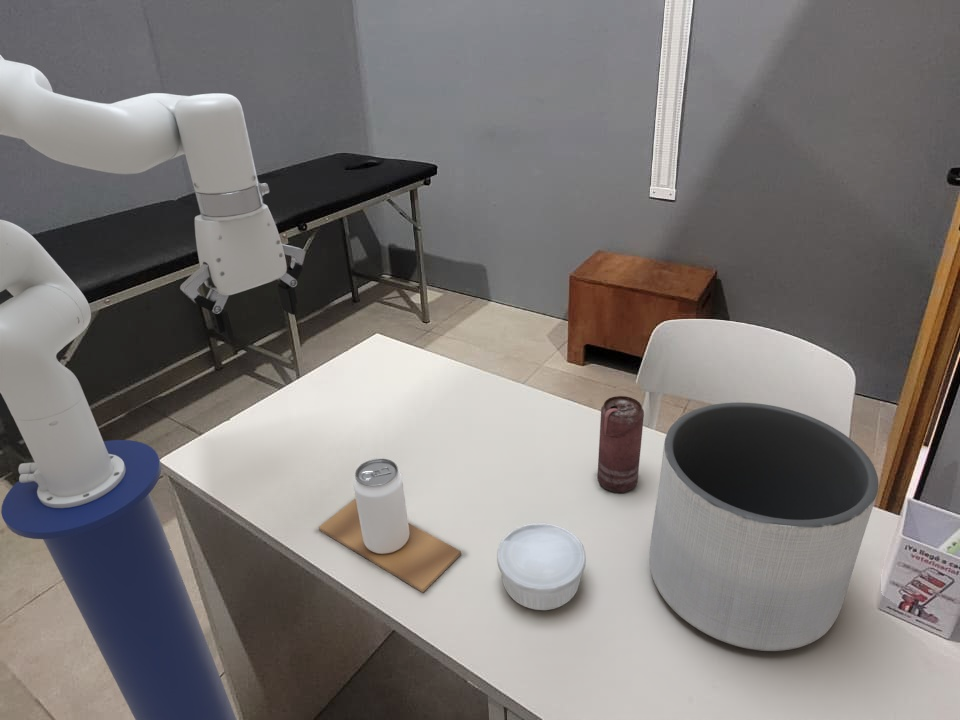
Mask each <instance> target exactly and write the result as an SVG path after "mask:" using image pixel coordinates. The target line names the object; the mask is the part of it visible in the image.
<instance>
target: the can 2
mask: <svg viewBox="0 0 960 720" xmlns="http://www.w3.org/2000/svg"><path fill="white" fill-rule="evenodd" d="M644 418H645V410H644V408H643V406H642V404H641V402H640V401H638V400H637V399H635V398H633V397H630V396H626V395H615V396H612V397H609V398H607V399H606V400H604V402H603V405H602V406H601V408H600V422H599V423H600V424H599V438H598V439H599V441H598V458H597V460H598V461H597V475H596V476H597V478H596V479H597V481H598V483H599V484H600V485H601V487H602V488H603V489H605V490H607V491H609V492H613V493H619V494H620V493H626V492H629V491H631V490H632V489H634V487H636V485H637V483H638V479H639V470H640V459H641V448H642V438H643V429H644Z"/></svg>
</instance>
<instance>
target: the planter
mask: <svg viewBox="0 0 960 720" xmlns="http://www.w3.org/2000/svg"><path fill="white" fill-rule="evenodd" d="M663 444H664V445H663V450H662V456H661V465H660V474H659V481H658V486H657V487H658V488H657V494H656V496H657V497H656V501H655V510H654V515H653V516H654V517H653V523H652V529H651V536H650V537H651V538H650V545H649V567H650V574H651V578H652V579H653V583H654V585H655V587H656V590H657V591H658V593H659V594H660V596H661V597H662V599H663V600H664V601H665V602H666V604H667V605H668V606H669V607H670V608H671V610H673V612H675V613H676V614H677V615H678V616H679V617H680V618H681V619H683V621H685V622H686V623H688V624H689V625H691V626H692V627H694V628H695V629H697V630H698V631H700V632H701V633H703V634H704V635H707V636H709V637H711V638H713V639H715V640H717V641H720V642H723V643H726V644H728V645H732V646H733V647H734V646H735V647H738V648H742V649H746V650H753V651H761V652H783V651H790V650H794V649H798V648H802V647H806V646H808V645H811V644H812V643H814V642H816V641H818V640H819V639H821V638H822V637H823V636H825V635H826V634H827V633H828V631H829V630H830V629H831V628H832V627H833V625H834V624H835V622H836V621H837V619H838V616H839V614H840V612H841V609H842V607H843V604H844V601H845V598H846V594H847V591H848V587H849V585H850V583H851V582H850V580H851V578H852V575H853V571H854V568H855V565H856V562H857V560H858V555H859V552H860V548H861V545H862V542H863V539H864V536H865V533H866V530H867V527H868V523H869V521H870V518H871V514H872V511H873V508H874V506H875V502H876V499H877V496H878V492H879V478H878V472H877V470H876V467H875V466H874V463H873V461H872V460H871V458H870V457H869V456H868V454H867V453H866V452H865V451H864V450H863V448H861V447H860V446H859V445H858V444H857V443H856V442H855V441H853V440H852V439H851V438H850V437H849V436H847V434H844V433H843V432H842V431H840V430H838V429H837V428H835V427H833V426H832V425H829V423H826V422H824V421H821V420H819V419H817V418H815V417H814V416H810V415H808V414H805V413H802V412H799V411H795V410H792V409H790V408H786V407H781V406H776V405H772V404H764V403H756V402H723V403H722V402H721V403H716V404H715V403H714V404H709V405H706V406H702V407H698V408H695V409H692V410H691V411H689V412H686V413H685V414H683V415H682V416H680V417H679V418H678V419H677V420H675V421H674V422H673V423H672V425H671V426H670V427H669V428H668V430H667V432H666V435H665V438H664V442H663Z"/></svg>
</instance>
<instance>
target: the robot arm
mask: <svg viewBox="0 0 960 720" xmlns="http://www.w3.org/2000/svg"><path fill="white" fill-rule="evenodd" d="M0 135H1V136H5V137H10V138H15V139H19V140H23V141H24V142H25V143H26V144H27V145H29V146H30V148H32V149H34V150H36V152H39V153H41V154H42V155H44V156H45V157H47V158H49V159H51V160H54V161H56V162H58V163H59V162H60V163H62V164H66V165H70V166H73V167H78V168H82V169H83V168H84V169H89V170H94V171H98V172H102V173H103V172H104V173H108V174H115V175H135V174H141V173H144V172H146V171H148V170H151V169H152V168H154V167H156V166H158V165H160V164H162V163H165V162H167V161H170V160H173V159H176V158H178V157H181V156H183V155H184V156H185V159H186V163H187V166H188V171H189V174H190V178H191V182H192V186H193V190H194V194H195V197H196V201H197V204H198V209H199V213H200V214H198V215H196V216H195V217H194V234H195V245H196V250H197V251H196V252H197V256H198V262H199V267H198V268H197V269H196V270H195V271H194V272H193V273H192V274H191V275H190V276H189V277H188V278H187V279H186V280H185V281H183V282H182V283H181V284H180V286H179V289H180V291H182V293H183V294H185V296H187V298H188V299H190V300H191V301H192V302H193V303H194V304H195V305H197V306H199V307H201V308H203V309H206V310H208V312H209V315H210V319H211V322H212V327H213V329H214V331H215V333H216V334H217V335H220V336H222V337H223V338H224V339H226V340H227V341H230V340H232V339H233V338H234V337H235V335H234V332H233V328H232V323H231V321H230V316H229V313H228V311H226V310H225V309H224V307H225V305H226V303H227V302H228V301H227V300H228V299H229V296H232V295H235V294H239V293H242V292H245V291H248V290H250V289H254V288H257V287H259V286H262V285H266V284H268V283H271V282H274V281H276V280H277V281H279V283H277V285H276V288H277V292H278V298H279V302H280V306H281V310H282V311H284V312H286V313H288V314H290V315H292V316H295V315H297V314H298V308H297V306H298V299H297V293H296V288H295V287H296V286H297V285H298V278H299V277H300V275H301V273H302V271H303V264H304V262H305V261H304V260H305V258H306V257H305V256H306V250H305V249H303V248H300V247H298V246H297V247H296V246H293V245H287V244H284V243H282V240H281V236H280V234H279V231H278V227H277V225H276V223H275V220H274V217H273V215H272V213H271V211H270V209H269V206H268V205H267V204H265V203H264V197H263V196H265V195H266V194H270V186H269V184H268V183H266V182H264V183H260V181H259V179H258V175H257V170H256V167H255V166H256V165H255V161H254V156H253V152H252V147H251V142H250V137H249V133H248V128H247V124H246V119H245V114H244V110H243V107H242V104H241V102H240V100H239V99H238V98H237V97H236V96H234V95H233V94H230V93H221V92H217V93H216V92H215V93H203V94H193V95H179V94H171V93H162V92H160V93H159V92H153V93H146V94H142V95H138V96H134V97H130V98H126V99H122V100H119V101H116V102H112V103H104V102H98V101H97V102H96V101H92V100H87V99H81V98H76V97H72V96H68V95H64V94H60V93H56V92H54V90H53V88H52V85H51V83H50V80H49V79H48V78H47V76H46V75H45V74H44V73H43V72H42V71H41V70H39V69H38V68H36V67H35V66H32V65H30V64H26V63H23V62H17V61H13V60H7V59H5V58H4V57H3V56H2V55H1V54H0ZM286 256H290V257H291V259H290V263H289V264H288V266H287V259H286ZM203 284H204V285H205V286H206V288H209V291H208V293H207V295H206V297H205V296H203V295H202V294H201V292H200V291H199V287H200V286H202V285H203ZM5 290H6V291H7V292H8V293H10V294H11V296H13V297H10V298H8V299H7V300H5V301H3V302H2V303H0V394H1V396H2V398H3V400H4V402H5V404H6V406H7V409H8V410H9V412H10V414H11V416H12V418H13V420H14V422H15V424H16V427H17V428H18V431H19V433H20V435H21V437H22V439H23V441H24V443H25V445H26V447H27V449H28V451H29V454H30V455H31V457H32V460H33V462H24V463H20V464H19V465H18V474H19V476H18V481H20V482H21V483H28V482H34V481H35V482H36V483H37V484H38V490H37V495H38V497H39V499H40V501H41V502H42V503H43V504H44V505H46V506H48V507H52V508H70V507H75V506H80V505H83V504H86V503H89V502H91V501H94V500H96V499H98V498H100V497H102V496H104V495H105V494H107V493H108V492H110V491H111V490H112V489H113V488H115V487H116V486H117V485H118V484H119V483H120V482H121V480H122V479H123V477H124V475H125V472H126V467H125V465H124V462H123V460H122V459H121V458H120V457H118V456H116V455H112V454H108V451H107V449H106V447H105V444H104V442H103V441H104V439H103V436H102V435H101V432H100V430H99V427H98V424H97V422H96V420H95V417H94V415H93V412H92V409H91V407H90V405H89V403H88V400H87V398H86V396H85V393H84V390H83V388H82V385H81V383H80V381H79V380H78V378H77V375H76V374H75V373H74V372H72V370H71V369H69V368H68V367H66V366H65V365H64V364H62V363H61V362H60V361H59V359H58V358H57V355H58V353H59V352H61V350H63V349H64V348H65V347H66V346H67V345H68V344H70V343H71V342H72V341H73V340H75V339H76V338H77V337H78V336H80V335H81V334H82V333H83V332H84V331H85V330H86V329H87V328H88V326H89V324H90V322H91V319H92V311H91V307H90V304H89V302H88V300H87V298H86V296H85V295H84V293H83V292H82V291H81V290H80V288H79V286H77V285H76V283H74V281H73V280H72V279H71V278H70V276H68V274H67V273H66V272H65V271H64V269H63V268H62V267H61V266H60V265H59V264H58V262H57V261H56V260H55V259H54V258H53V257H52V256H51V255H50V254H49V252H48V251H46V249H45V248H44V246H42V244H41V243H40V242H39V241H38V240H37V239H36V238H35V237H34V236H33V235H32V234H30V233H29V232H28V231H27V230H25V229H24V228H22V227H21V226H19V225H17V224H15V223H13V222H10V221H8V220H4V219H0V293H2V292H3V291H5Z"/></svg>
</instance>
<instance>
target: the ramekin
mask: <svg viewBox="0 0 960 720" xmlns="http://www.w3.org/2000/svg"><path fill="white" fill-rule="evenodd" d="M496 563H497V568H498V570H499V572H500V575H501V580H502V583H503V586H504V588H505V590H506V592H507V594H508V595H509V596H510V597H511V598H512V600H514V601H515V603H518V604H519V605H520V606H523V607H524V608H528V609H530V610H535V611H550V610H555V609H558V608H560V607H562V606H564V605H566V604H567V603H568V602H570V601H571V600H572V599H573V598H574V596H575V595H576V593H577V592H578V589H579V586H580V582H581V579H582V576H583V574H584V571H585V569H586V563H587V557H586V550H585V547H584V545H583V544H582V542H581V540H580V539H579V538H578V537H577V536H576V535H575V534H574V533H573V532H571V531H570V530H568V529H566V528H564V527H562V526H559V525H556V524H552V523H546V522H545V523H543V522H534V523H528V524H523V525H520V526H518V527H515V528H514V529H512V530H511V531H509V532H508V533H507V534H505V536H504V537H502V539H501V541H500V543H499V544H498V548H497V551H496Z"/></svg>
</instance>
